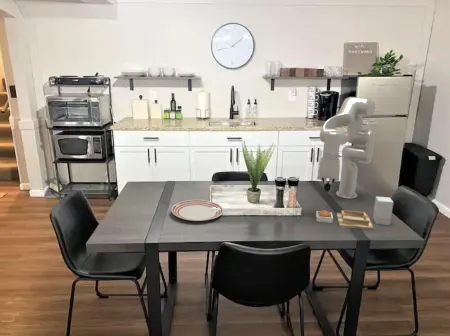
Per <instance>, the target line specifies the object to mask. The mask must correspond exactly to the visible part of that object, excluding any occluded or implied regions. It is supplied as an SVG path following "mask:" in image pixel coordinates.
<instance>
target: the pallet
mask: <svg viewBox="0 0 450 336" xmlns="http://www.w3.org/2000/svg"><path fill="white" fill-rule="evenodd" d="M340 211H341V212H336V219H337V222H338V226H339V228H347V229H358V230H367V231H374V226H373V223H372V221H371V220H370V217H369V215H367V214H366V212H365V211H356V210H344V209H341V210H340Z"/></svg>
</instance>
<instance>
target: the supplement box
mask: <svg viewBox="0 0 450 336" xmlns="http://www.w3.org/2000/svg"><path fill="white" fill-rule="evenodd" d="M393 208H394V201H393V200H392V199H391V197H389V196H388V197H386V196H375V198H374V208H373V214H372V220H373V222H374V223H375V224H376V225H381V226H383V225H385V226H390V225H391V223H392V222H391V220H392V215H393V214H392V213H393Z"/></svg>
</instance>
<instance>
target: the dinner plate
mask: <svg viewBox="0 0 450 336" xmlns="http://www.w3.org/2000/svg"><path fill="white" fill-rule="evenodd" d="M211 206H212V207H216V208H220V209H221V210H220V211H218V212H215V213H213V212H211V211H210V208H211ZM171 213H172V214H173V215H174V216H176V217H177V218H179V219H182V220H186V221H193V222H204V221H210V220H214V219H217V218H219V217H220V216H221V215H222V214H223V213H224V208H223V205H220V204H218V203H217V202H214V201H211V200H206V199H188V200H184V201H180V202H178V203H176V204H174V205H173V206H172V208H171Z"/></svg>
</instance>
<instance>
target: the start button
mask: <svg viewBox="0 0 450 336" xmlns="http://www.w3.org/2000/svg"><path fill="white" fill-rule="evenodd" d="M319 211H320V216H321V217H329V215H330V212H331V211H329V210H326V209H325V210H324V209H321V210H319Z"/></svg>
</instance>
